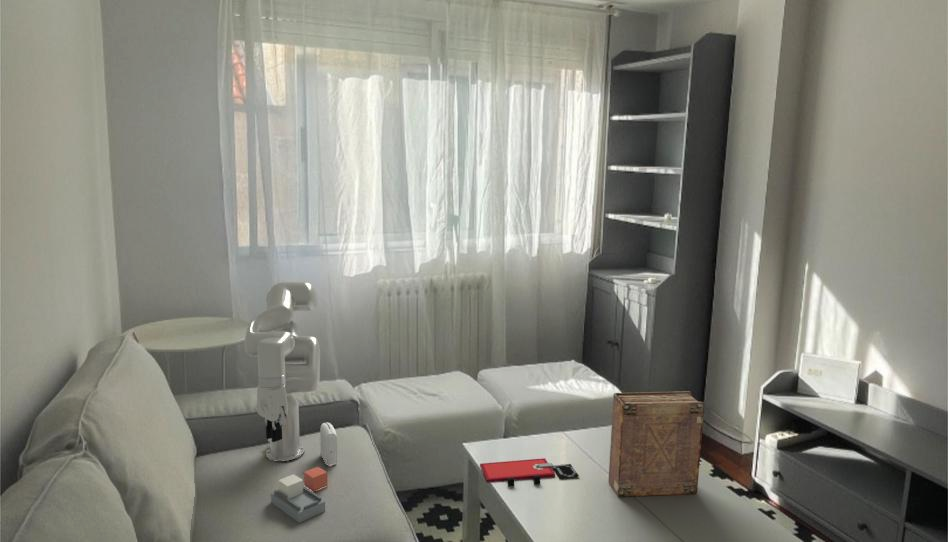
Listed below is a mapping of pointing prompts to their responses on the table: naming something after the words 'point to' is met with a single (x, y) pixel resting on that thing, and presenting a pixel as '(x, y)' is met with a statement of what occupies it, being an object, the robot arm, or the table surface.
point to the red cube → (315, 478)
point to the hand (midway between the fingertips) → (274, 438)
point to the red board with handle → (524, 470)
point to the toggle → (291, 486)
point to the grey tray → (299, 504)
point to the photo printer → (328, 443)
